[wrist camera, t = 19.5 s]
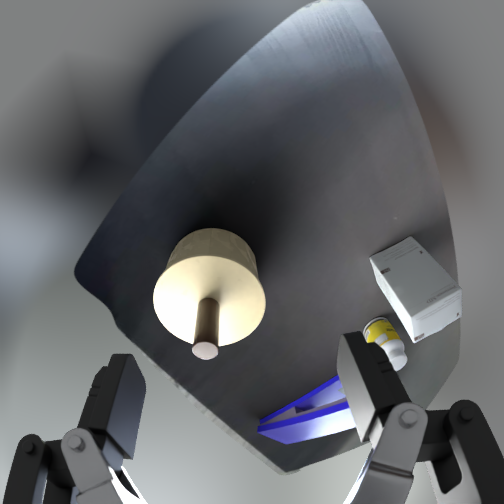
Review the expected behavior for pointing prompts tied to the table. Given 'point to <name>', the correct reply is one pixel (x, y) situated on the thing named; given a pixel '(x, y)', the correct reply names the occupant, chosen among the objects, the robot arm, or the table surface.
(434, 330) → the cosmetic box
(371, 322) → the supplement bottle
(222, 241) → the pot
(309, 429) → the stapler
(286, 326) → the table surface
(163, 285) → the lid
